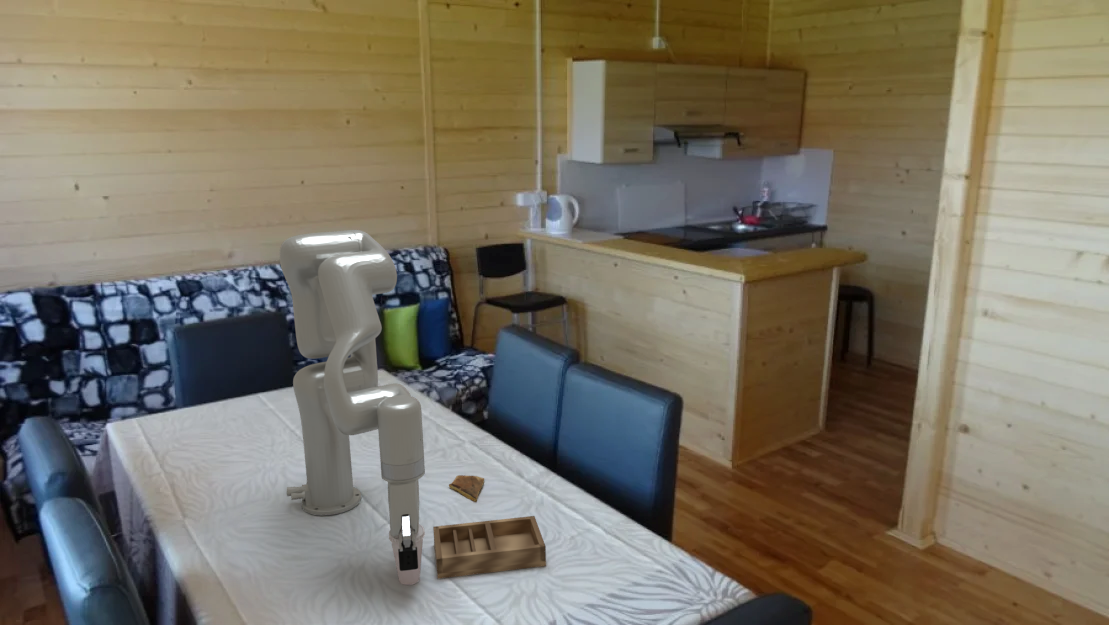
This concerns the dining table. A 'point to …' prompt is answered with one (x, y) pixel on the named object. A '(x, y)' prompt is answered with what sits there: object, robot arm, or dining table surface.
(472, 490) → the shard
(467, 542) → the wooden shelf
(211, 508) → the dining table surface
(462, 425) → the dining table surface
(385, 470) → the robot arm
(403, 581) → the smoothie
